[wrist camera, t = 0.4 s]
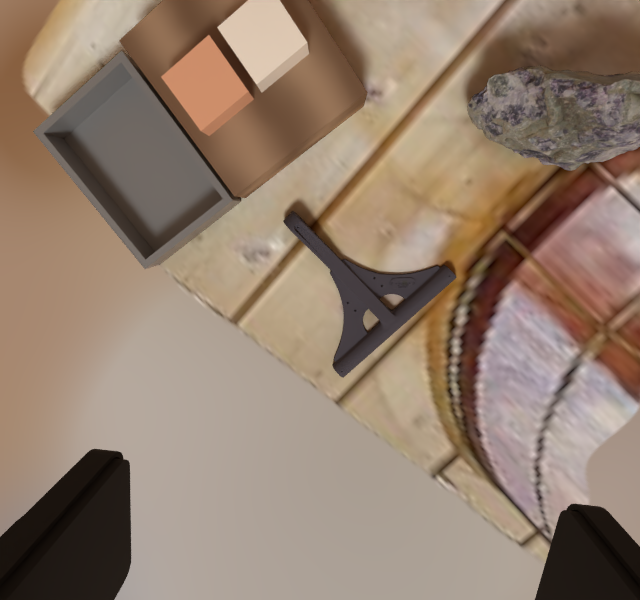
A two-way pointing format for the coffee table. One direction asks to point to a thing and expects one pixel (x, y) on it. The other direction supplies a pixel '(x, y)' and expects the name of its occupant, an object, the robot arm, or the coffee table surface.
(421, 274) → the bracket
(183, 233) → the box
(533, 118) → the mineral rock
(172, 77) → the terracotta tile
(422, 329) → the coffee table surface
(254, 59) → the cream tile
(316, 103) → the tan square panel
